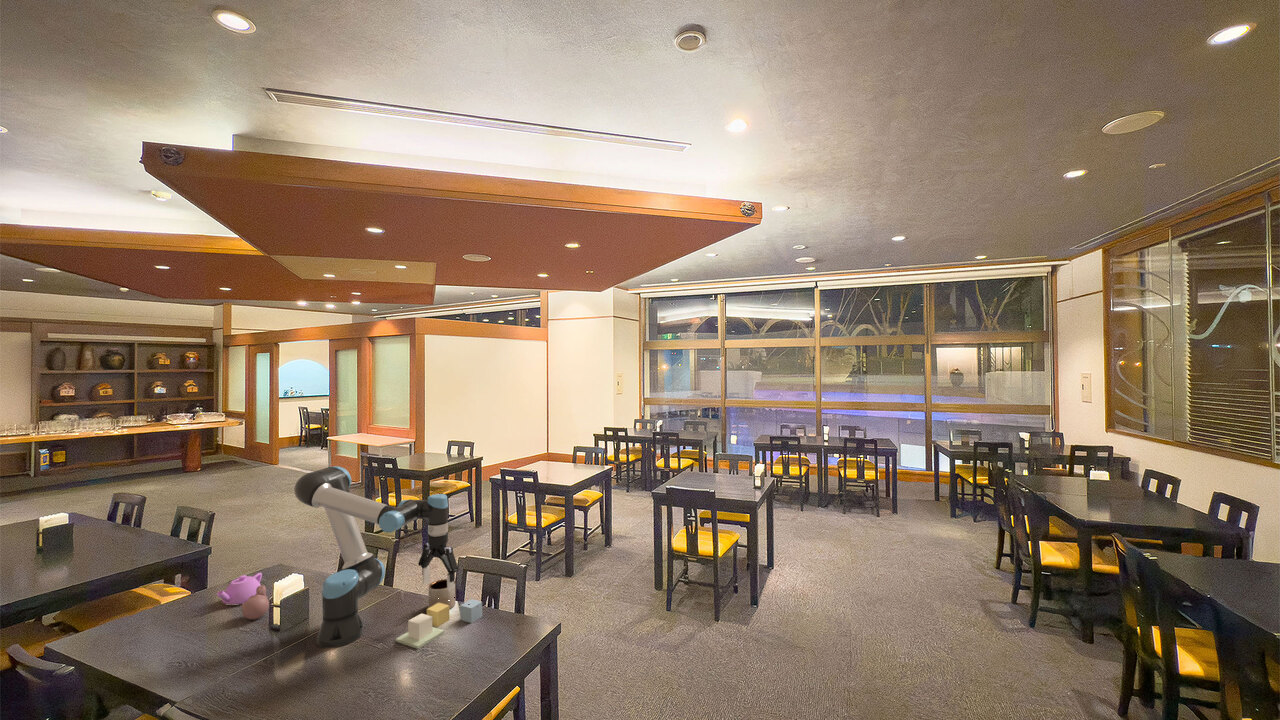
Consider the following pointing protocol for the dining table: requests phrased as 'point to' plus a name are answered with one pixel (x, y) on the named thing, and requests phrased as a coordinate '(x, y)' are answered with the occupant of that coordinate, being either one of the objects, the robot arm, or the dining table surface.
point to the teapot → (240, 589)
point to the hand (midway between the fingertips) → (438, 586)
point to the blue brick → (471, 611)
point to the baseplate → (419, 642)
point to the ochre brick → (439, 614)
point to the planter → (441, 594)
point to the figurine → (256, 604)
